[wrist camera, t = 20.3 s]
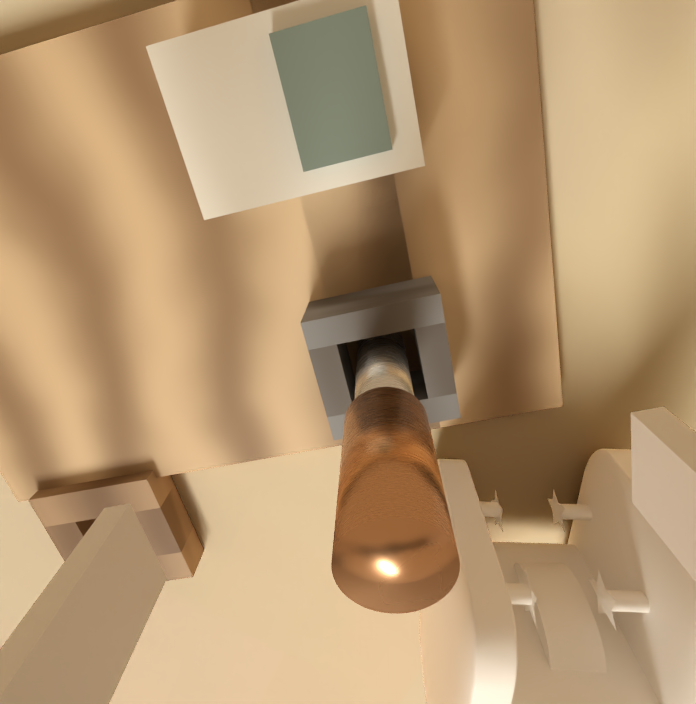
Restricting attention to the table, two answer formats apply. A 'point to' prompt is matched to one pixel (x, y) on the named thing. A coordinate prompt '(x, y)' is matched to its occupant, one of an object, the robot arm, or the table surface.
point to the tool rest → (148, 504)
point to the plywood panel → (260, 259)
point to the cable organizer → (562, 604)
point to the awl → (390, 492)
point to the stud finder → (290, 102)
